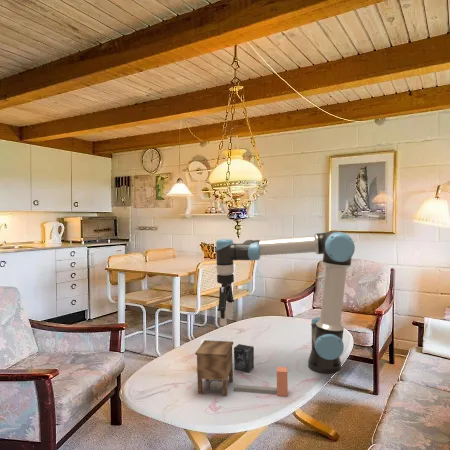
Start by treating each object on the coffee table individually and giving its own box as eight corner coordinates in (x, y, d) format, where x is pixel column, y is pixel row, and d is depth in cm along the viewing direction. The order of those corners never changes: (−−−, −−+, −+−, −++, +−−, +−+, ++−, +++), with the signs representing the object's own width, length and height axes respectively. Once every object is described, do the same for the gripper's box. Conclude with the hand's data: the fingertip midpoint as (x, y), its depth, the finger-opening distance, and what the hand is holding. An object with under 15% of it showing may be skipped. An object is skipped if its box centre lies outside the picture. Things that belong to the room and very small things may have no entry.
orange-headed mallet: (287, 391, 161) (287, 367, 160) (287, 396, 156) (286, 372, 156) (235, 387, 165) (234, 364, 165) (233, 392, 161) (232, 368, 160)
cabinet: (234, 380, 172) (233, 341, 171) (227, 396, 157) (226, 354, 156) (205, 378, 174) (204, 340, 173) (196, 394, 160) (195, 352, 159)
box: (233, 369, 183) (233, 347, 182) (239, 365, 188) (239, 343, 187) (249, 372, 179) (248, 350, 178) (254, 368, 184) (253, 346, 183)
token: (226, 386, 167) (226, 382, 167) (223, 393, 161) (223, 388, 161) (212, 385, 168) (212, 381, 168) (209, 392, 162) (209, 387, 162)
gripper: (223, 269, 187) (224, 312, 188) (210, 279, 163) (211, 329, 164) (238, 269, 185) (239, 313, 186) (227, 279, 161) (229, 329, 162)
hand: (226, 320), depth 175 cm, fingers open, 13 cm apart
